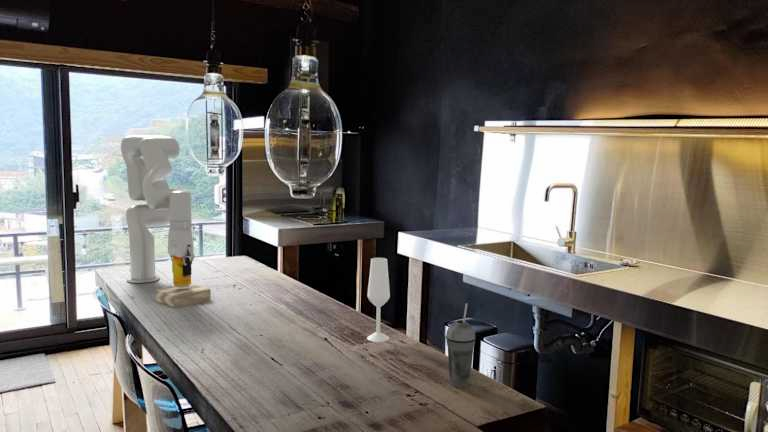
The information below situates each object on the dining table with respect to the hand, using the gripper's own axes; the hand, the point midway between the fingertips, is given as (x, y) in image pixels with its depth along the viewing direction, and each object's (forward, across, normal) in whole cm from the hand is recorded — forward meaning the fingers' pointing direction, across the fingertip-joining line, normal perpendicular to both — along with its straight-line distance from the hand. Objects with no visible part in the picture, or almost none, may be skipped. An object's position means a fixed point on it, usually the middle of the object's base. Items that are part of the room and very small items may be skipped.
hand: (181, 273), depth 209 cm
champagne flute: (+10, +80, +16) cm, 82 cm away
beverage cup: (+10, +116, +4) cm, 117 cm away
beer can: (+5, 0, 0) cm, 5 cm away
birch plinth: (+10, 0, 0) cm, 10 cm away
